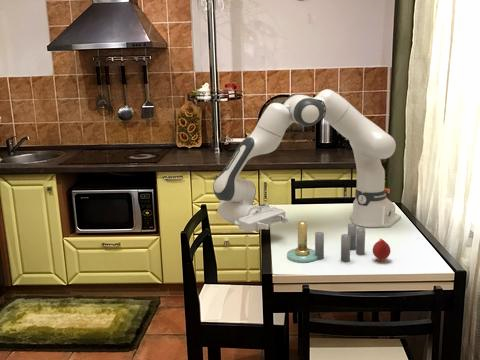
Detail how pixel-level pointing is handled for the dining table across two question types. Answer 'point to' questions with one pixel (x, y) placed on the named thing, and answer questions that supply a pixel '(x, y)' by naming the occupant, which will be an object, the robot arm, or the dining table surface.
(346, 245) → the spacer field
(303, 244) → the bolt
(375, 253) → the pomegranate
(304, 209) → the dining table surface
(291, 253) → the saucer
